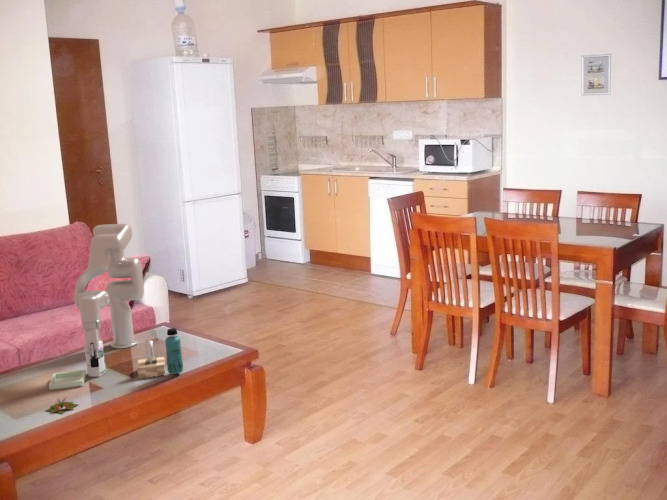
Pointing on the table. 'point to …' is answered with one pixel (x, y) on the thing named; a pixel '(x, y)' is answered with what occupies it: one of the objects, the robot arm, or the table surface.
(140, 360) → the bore block
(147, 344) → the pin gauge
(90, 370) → the syrup box
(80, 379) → the tray
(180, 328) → the table surface
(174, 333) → the beverage bottle
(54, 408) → the lily flower
